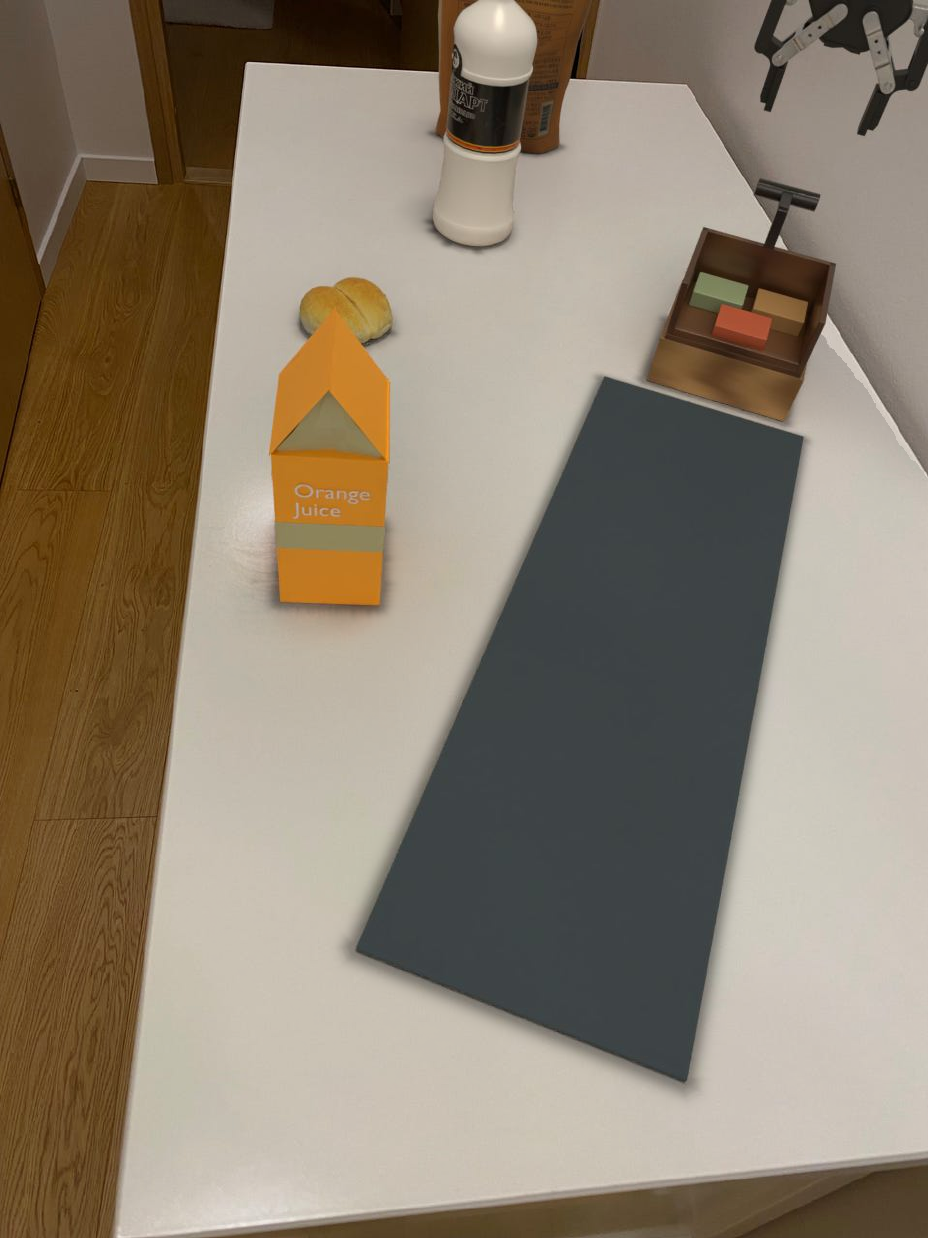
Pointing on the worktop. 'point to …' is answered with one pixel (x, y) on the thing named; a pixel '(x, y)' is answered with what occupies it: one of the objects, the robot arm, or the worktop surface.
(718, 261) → the wooden box with handle
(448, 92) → the pancake mix bag
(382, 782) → the worktop surface
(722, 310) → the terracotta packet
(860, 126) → the robot arm
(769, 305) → the kraft packet
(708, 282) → the block
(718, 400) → the stand
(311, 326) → the bread roll
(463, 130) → the white bottle
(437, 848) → the mat
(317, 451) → the orange juice
